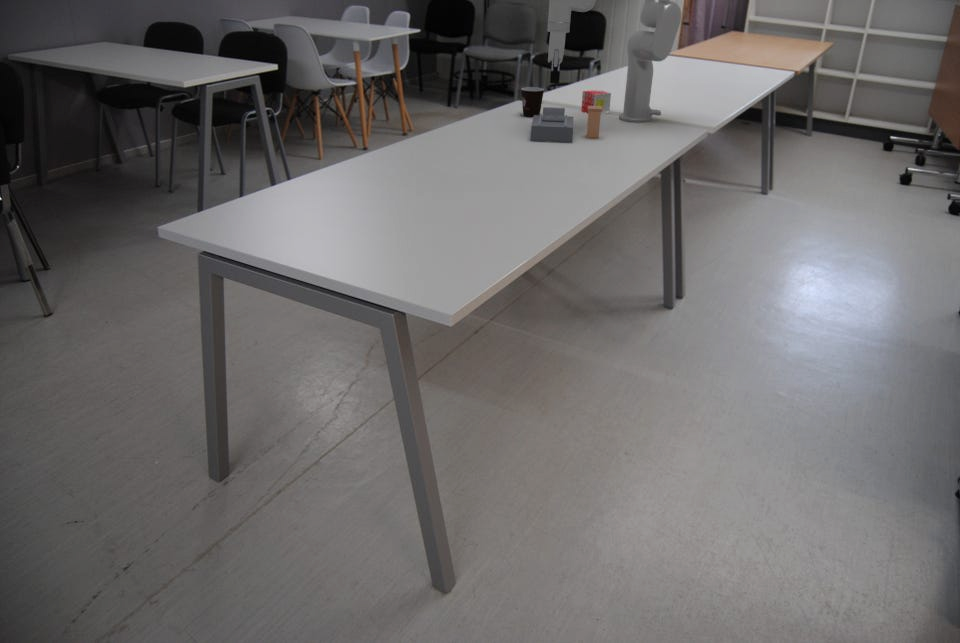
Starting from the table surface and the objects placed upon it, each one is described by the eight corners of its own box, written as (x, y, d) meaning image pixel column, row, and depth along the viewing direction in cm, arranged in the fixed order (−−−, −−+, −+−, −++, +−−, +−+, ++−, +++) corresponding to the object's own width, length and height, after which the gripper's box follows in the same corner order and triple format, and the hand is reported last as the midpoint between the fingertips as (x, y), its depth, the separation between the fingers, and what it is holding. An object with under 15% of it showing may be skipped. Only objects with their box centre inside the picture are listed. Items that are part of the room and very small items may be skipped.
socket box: (572, 130, 265) (573, 115, 262) (572, 142, 249) (573, 126, 246) (533, 129, 266) (533, 113, 264) (530, 140, 250) (531, 124, 248)
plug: (599, 135, 259) (601, 106, 254) (599, 138, 255) (602, 109, 250) (585, 134, 259) (587, 105, 255) (585, 138, 255) (588, 108, 251)
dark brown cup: (543, 118, 283) (544, 91, 279) (520, 117, 283) (521, 90, 279) (541, 112, 294) (542, 86, 289) (519, 111, 294) (520, 85, 289)
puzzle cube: (593, 115, 290) (594, 94, 287) (581, 111, 296) (582, 91, 293) (609, 113, 294) (611, 93, 290) (597, 110, 300) (599, 89, 296)
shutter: (564, 116, 261) (564, 107, 259) (564, 121, 254) (564, 112, 253) (542, 115, 261) (543, 107, 260) (541, 120, 255) (542, 111, 253)
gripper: (548, 25, 260) (544, 79, 268) (547, 28, 247) (543, 85, 255) (569, 26, 259) (565, 80, 268) (569, 29, 246) (564, 86, 254)
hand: (554, 82), depth 261 cm, fingers closed
